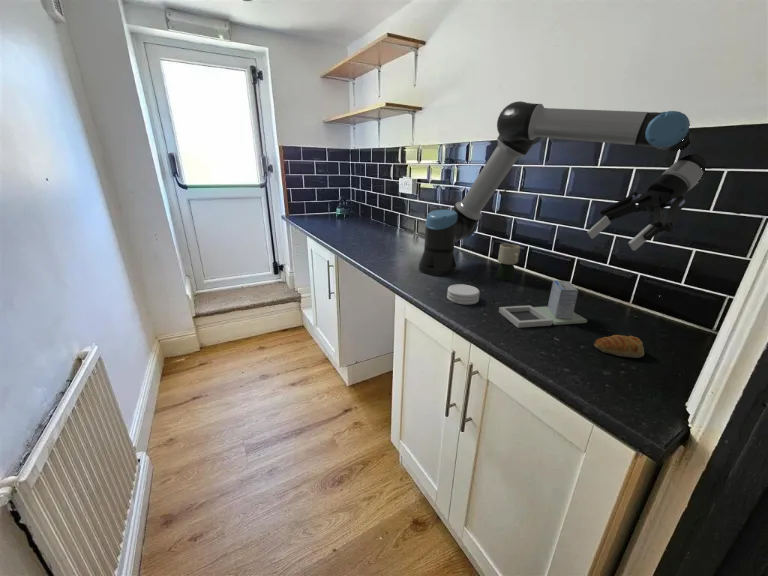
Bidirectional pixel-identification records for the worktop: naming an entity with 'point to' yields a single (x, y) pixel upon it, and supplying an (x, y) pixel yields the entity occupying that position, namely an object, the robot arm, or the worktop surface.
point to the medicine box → (562, 299)
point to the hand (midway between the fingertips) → (609, 240)
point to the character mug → (507, 261)
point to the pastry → (621, 346)
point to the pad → (560, 321)
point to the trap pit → (525, 316)
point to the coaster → (463, 294)
